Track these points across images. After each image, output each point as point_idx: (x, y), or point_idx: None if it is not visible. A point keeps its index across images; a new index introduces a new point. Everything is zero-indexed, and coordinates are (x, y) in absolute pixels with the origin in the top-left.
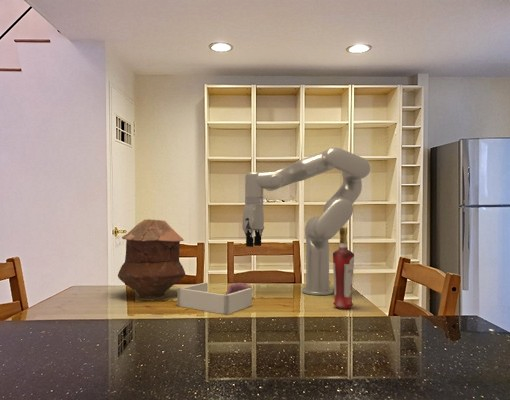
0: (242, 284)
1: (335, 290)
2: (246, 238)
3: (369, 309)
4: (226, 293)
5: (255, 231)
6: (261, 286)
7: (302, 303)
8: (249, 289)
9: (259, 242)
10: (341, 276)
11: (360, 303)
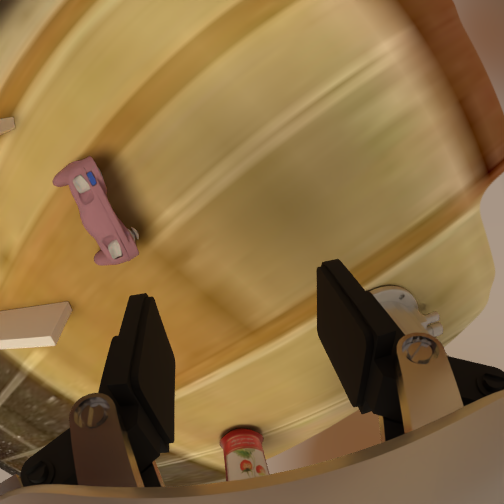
0: (95, 237)
1: (228, 464)
2: (114, 369)
3: None
4: (53, 182)
5: (403, 421)
6: (371, 108)
7: (210, 379)
8: (42, 346)
9: (327, 352)
10: None
11: (303, 431)
